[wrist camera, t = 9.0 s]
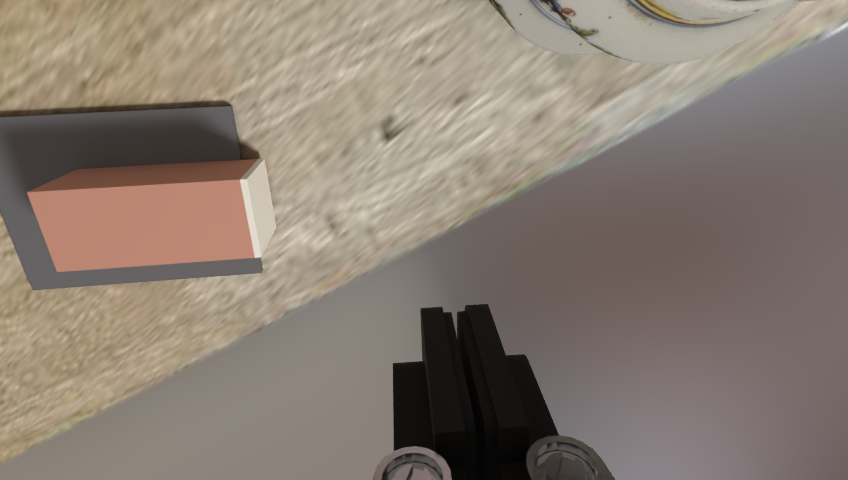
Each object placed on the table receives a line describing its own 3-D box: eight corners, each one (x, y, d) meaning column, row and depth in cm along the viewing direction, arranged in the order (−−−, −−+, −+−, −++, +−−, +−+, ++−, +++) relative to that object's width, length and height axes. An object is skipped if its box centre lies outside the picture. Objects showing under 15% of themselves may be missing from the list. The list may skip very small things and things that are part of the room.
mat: (231, 105, 31) (229, 106, 31) (262, 269, 36) (261, 272, 36) (-31, 118, 30) (-38, 119, 30) (37, 286, 35) (32, 290, 34)
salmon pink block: (246, 179, 28) (26, 192, 27) (261, 257, 30) (57, 272, 29) (264, 158, 32) (76, 169, 31) (276, 227, 34) (100, 239, 33)
